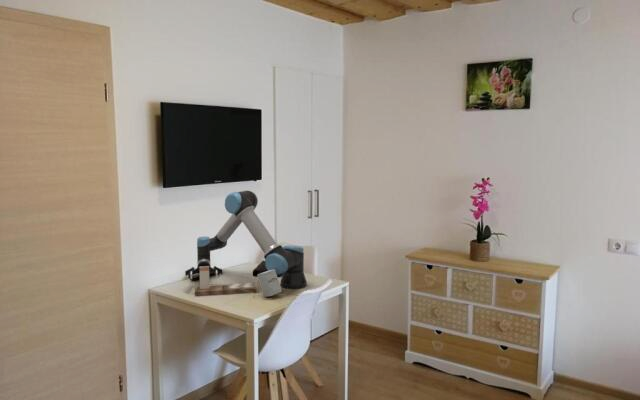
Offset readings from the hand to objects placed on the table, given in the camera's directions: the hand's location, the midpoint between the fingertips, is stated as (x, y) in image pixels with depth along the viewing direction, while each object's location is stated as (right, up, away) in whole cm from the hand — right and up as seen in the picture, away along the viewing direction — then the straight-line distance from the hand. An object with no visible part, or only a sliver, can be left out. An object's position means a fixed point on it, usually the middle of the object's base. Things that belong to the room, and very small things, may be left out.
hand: (204, 276), depth 277 cm
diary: (+32, -5, +48) cm, 58 cm away
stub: (0, -7, +1) cm, 7 cm away
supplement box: (+38, -9, -6) cm, 40 cm away
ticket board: (+11, -9, +4) cm, 15 cm away
